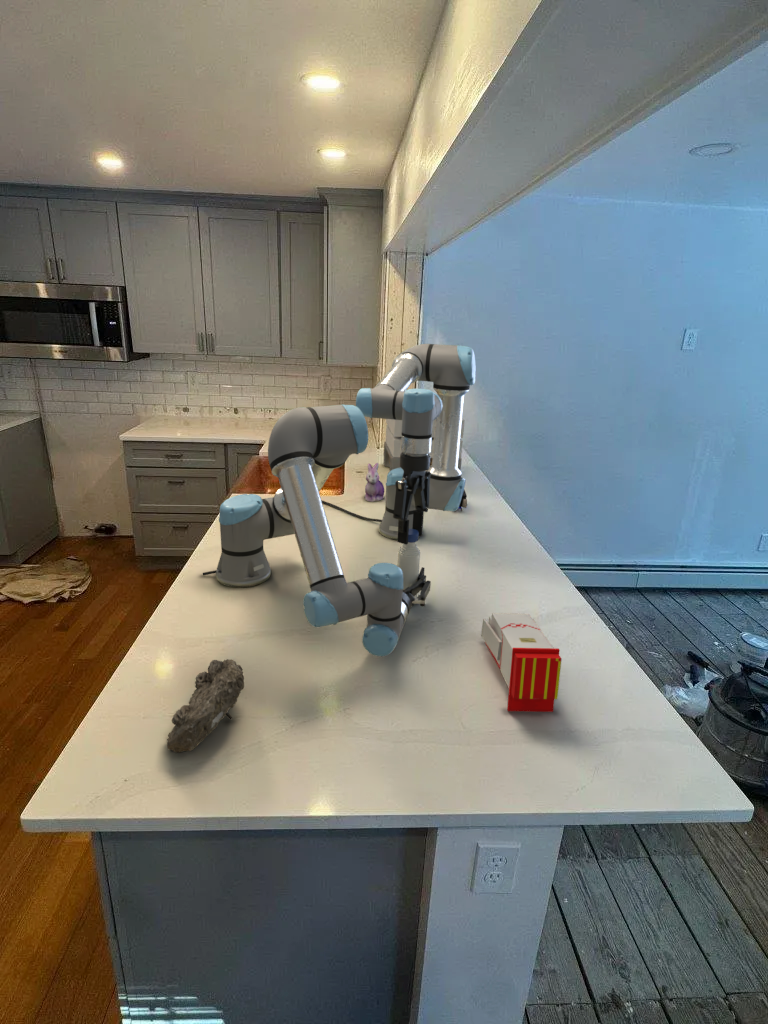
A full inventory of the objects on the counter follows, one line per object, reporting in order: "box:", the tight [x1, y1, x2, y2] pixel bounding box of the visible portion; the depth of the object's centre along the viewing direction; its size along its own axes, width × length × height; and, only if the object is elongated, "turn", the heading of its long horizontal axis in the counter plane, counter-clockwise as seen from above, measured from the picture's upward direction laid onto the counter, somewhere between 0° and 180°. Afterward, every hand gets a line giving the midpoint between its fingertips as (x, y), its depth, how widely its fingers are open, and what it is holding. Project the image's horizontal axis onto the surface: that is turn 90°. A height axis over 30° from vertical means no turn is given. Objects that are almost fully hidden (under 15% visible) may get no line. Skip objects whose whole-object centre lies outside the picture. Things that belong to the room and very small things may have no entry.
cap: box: [408, 529, 420, 543], centre depth 148 cm, size 4×4×2 cm
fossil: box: [166, 658, 245, 754], centre depth 106 cm, size 22×10×15 cm
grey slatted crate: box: [383, 418, 465, 472], centre depth 268 cm, size 34×33×41 cm
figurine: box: [364, 462, 385, 502], centre depth 233 cm, size 9×10×15 cm
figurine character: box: [457, 489, 468, 512], centre depth 228 cm, size 7×8×15 cm
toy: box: [480, 612, 562, 713], centre depth 124 cm, size 12×13×30 cm
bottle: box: [396, 542, 421, 598], centre depth 151 cm, size 6×6×20 cm
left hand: (411, 570), depth 157 cm, fingers closed on bottle, 6 cm apart
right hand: (410, 538), depth 148 cm, fingers open, 7 cm apart
